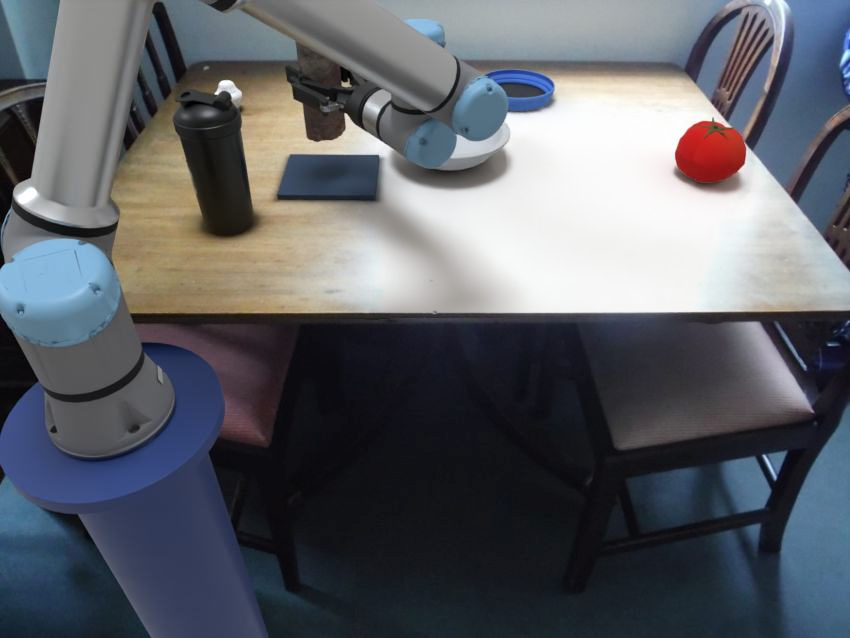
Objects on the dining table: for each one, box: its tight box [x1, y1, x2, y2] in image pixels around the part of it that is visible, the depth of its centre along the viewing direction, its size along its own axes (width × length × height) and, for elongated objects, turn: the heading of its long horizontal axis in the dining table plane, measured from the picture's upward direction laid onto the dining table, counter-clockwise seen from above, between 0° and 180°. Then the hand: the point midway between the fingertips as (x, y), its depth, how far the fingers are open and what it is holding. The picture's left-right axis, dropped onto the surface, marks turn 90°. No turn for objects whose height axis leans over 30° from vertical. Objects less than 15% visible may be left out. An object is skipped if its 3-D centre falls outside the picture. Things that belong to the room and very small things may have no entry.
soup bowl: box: [432, 121, 511, 171], centre depth 132 cm, size 24×24×7 cm
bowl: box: [483, 68, 556, 112], centre depth 157 cm, size 18×18×4 cm
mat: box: [276, 153, 380, 201], centre depth 127 cm, size 18×16×1 cm
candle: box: [294, 40, 347, 143], centre depth 116 cm, size 8×7×20 cm
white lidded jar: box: [214, 79, 243, 110], centre depth 149 cm, size 6×6×7 cm
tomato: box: [674, 116, 747, 184], centre depth 127 cm, size 13×12×11 cm
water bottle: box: [172, 88, 256, 237], centre depth 108 cm, size 10×10×23 cm
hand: (307, 68), depth 118 cm, fingers closed on candle, 7 cm apart
